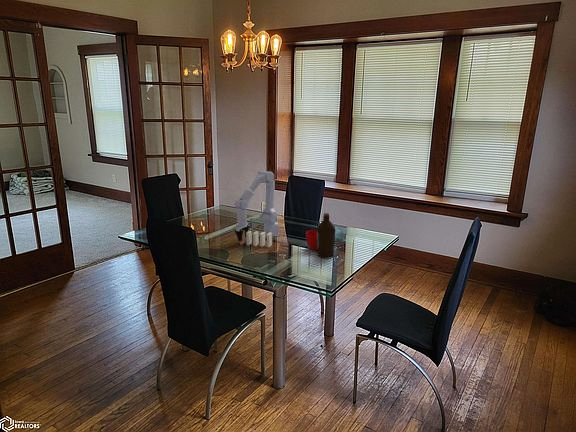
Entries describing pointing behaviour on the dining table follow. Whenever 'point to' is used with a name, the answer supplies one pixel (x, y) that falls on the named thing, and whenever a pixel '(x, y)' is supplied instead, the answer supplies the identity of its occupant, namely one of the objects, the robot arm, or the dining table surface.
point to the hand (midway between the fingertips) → (242, 239)
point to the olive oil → (325, 238)
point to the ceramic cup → (312, 239)
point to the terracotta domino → (243, 238)
